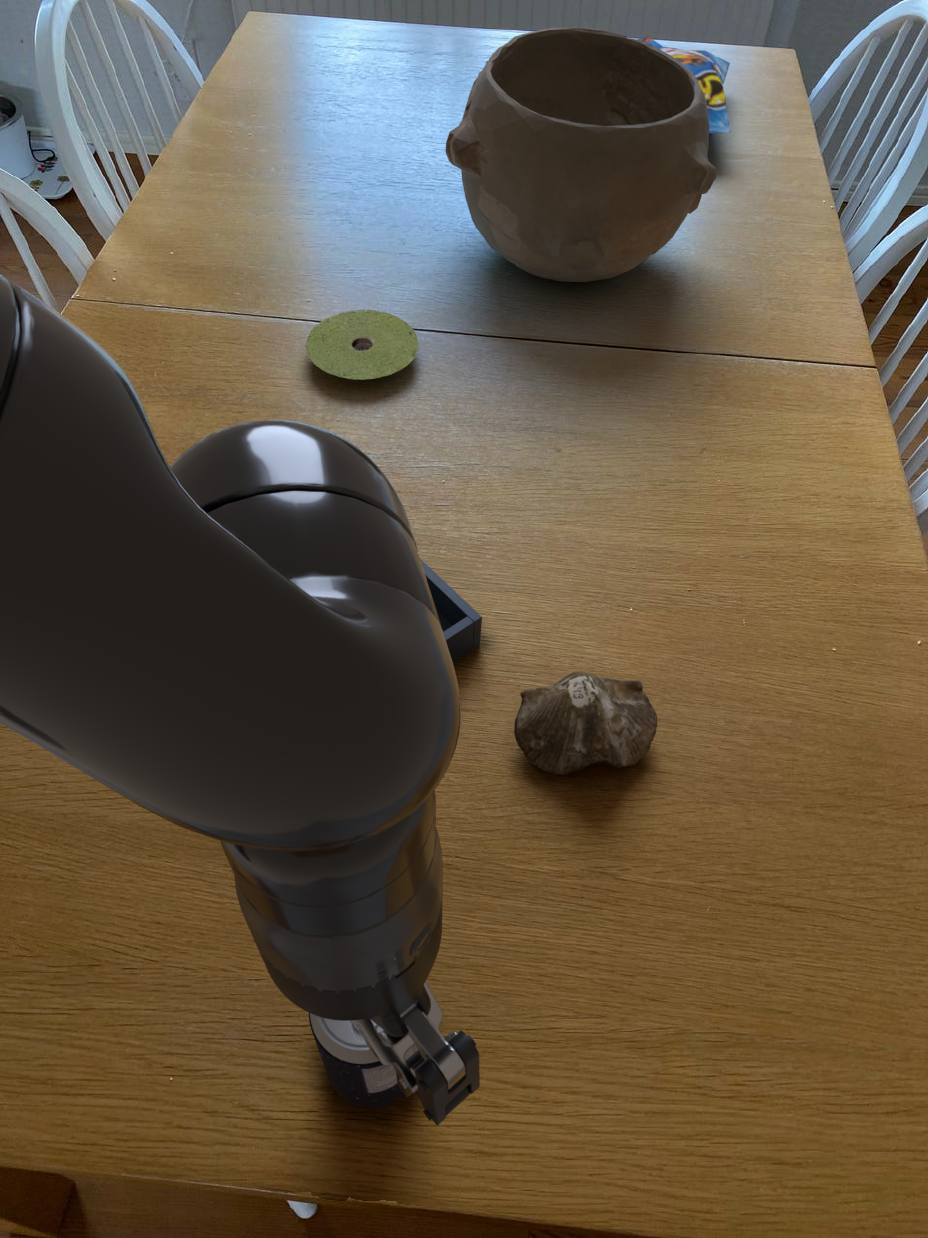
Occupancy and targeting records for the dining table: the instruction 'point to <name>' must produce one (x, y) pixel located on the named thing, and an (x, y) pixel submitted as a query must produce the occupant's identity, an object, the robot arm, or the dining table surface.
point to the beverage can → (355, 1064)
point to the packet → (705, 81)
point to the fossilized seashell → (585, 723)
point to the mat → (362, 344)
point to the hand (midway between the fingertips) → (368, 1009)
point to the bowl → (581, 152)
